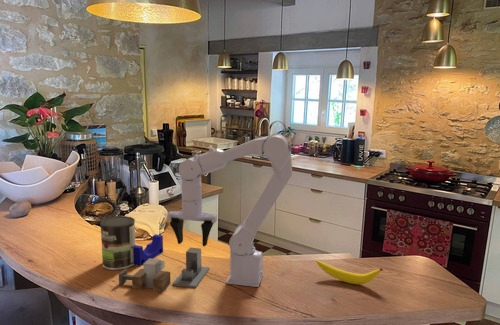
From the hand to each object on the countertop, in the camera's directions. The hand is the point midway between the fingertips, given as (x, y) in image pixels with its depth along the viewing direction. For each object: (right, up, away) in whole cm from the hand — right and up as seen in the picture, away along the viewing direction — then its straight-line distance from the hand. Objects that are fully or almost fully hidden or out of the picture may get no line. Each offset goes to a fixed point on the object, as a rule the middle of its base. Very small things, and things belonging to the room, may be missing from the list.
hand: (192, 243), depth 108 cm
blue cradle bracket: (-17, -8, +14) cm, 23 cm away
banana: (+45, -11, -2) cm, 47 cm away
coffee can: (-25, -8, +9) cm, 28 cm away
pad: (0, -10, +1) cm, 10 cm away
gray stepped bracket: (0, -9, 0) cm, 9 cm away
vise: (-13, -11, -5) cm, 17 cm away
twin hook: (-11, -10, +1) cm, 15 cm away
